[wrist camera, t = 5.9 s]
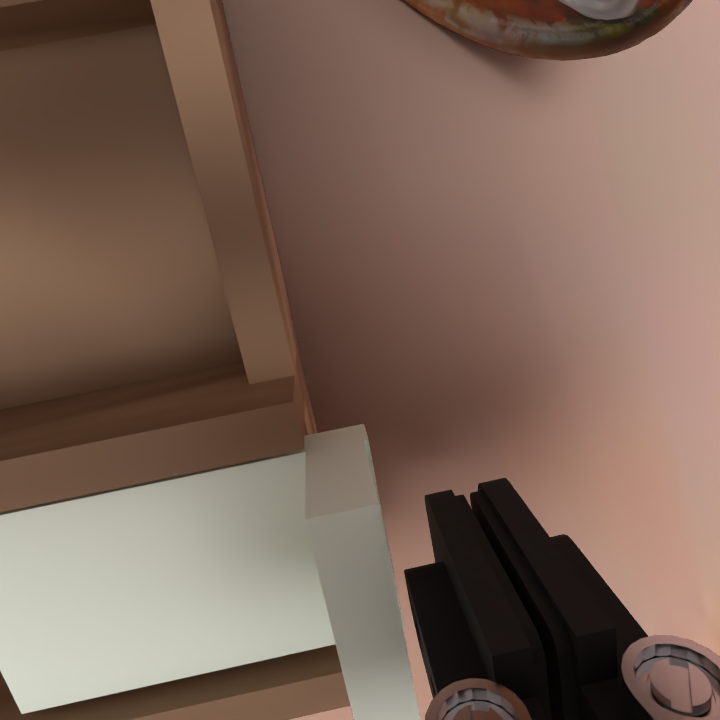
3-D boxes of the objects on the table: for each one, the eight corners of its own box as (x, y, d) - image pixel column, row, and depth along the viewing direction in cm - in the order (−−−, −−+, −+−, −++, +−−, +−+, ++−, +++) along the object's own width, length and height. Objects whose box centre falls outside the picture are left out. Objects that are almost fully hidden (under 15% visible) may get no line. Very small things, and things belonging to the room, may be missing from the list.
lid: (-44, 507, 11) (-176, 621, 8) (364, 423, 12) (384, 502, 8) (38, 683, 13) (-47, 836, 10) (398, 603, 13) (427, 726, 10)
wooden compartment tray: (-294, 63, 11) (-676, -26, 7) (216, -23, 12) (162, -158, 7) (-9, 646, 16) (-127, 814, 12) (348, 569, 16) (363, 702, 12)
